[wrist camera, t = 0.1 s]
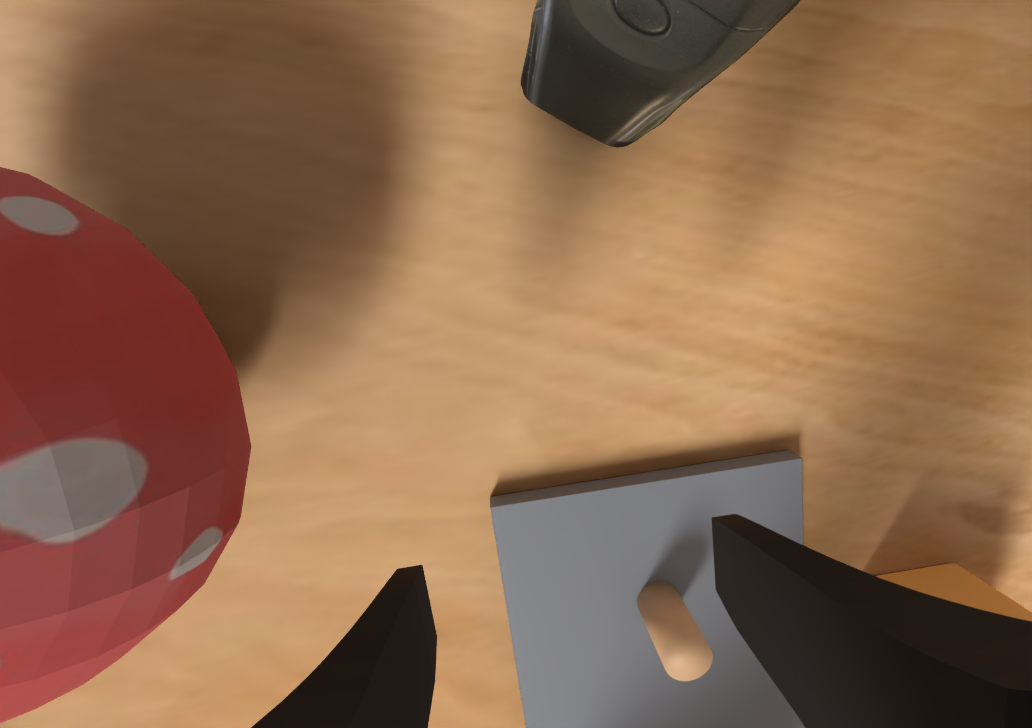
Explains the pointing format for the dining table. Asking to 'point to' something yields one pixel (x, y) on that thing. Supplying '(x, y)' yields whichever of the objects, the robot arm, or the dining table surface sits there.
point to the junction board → (639, 597)
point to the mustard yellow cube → (958, 589)
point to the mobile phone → (635, 57)
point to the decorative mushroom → (102, 443)
